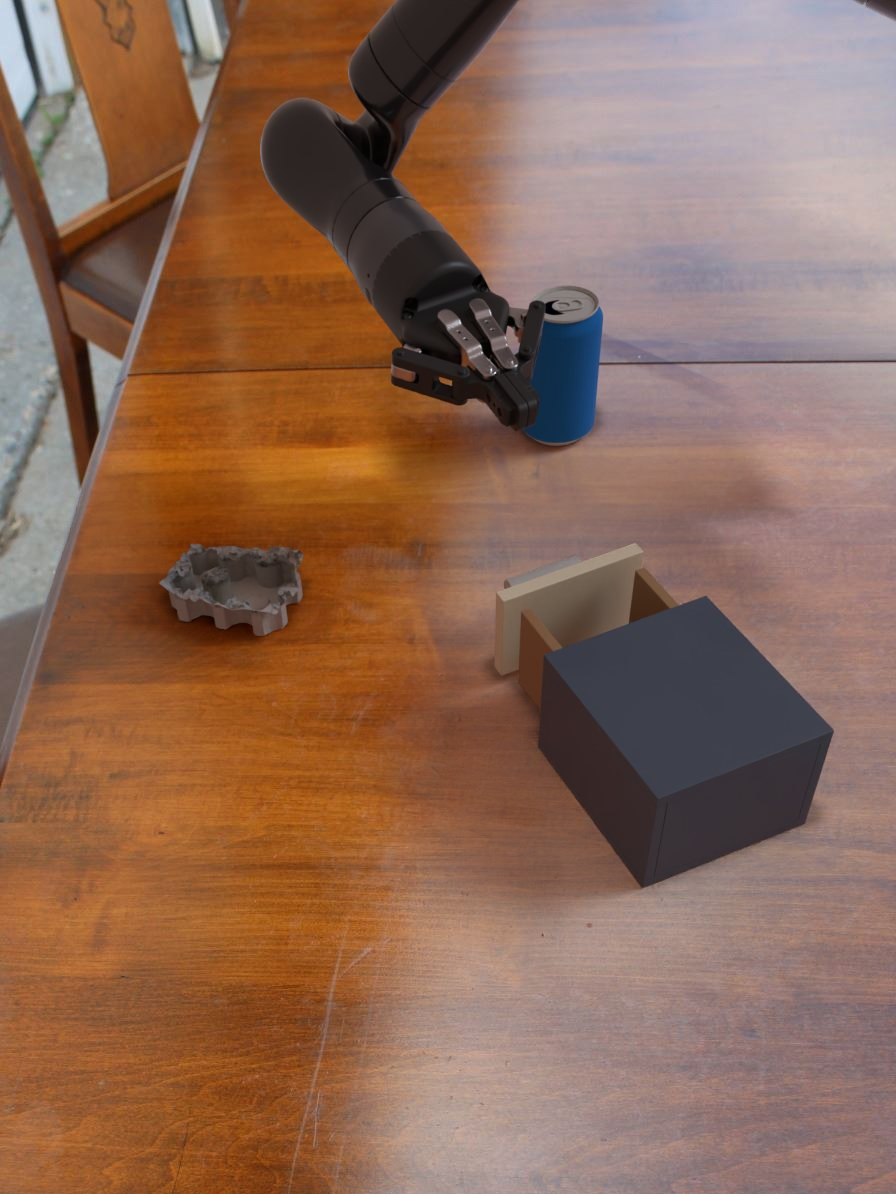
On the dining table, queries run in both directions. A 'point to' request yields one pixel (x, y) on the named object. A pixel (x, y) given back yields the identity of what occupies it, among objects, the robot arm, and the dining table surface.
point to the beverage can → (567, 365)
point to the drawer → (570, 608)
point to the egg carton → (236, 585)
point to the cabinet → (680, 739)
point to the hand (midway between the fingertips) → (527, 418)
